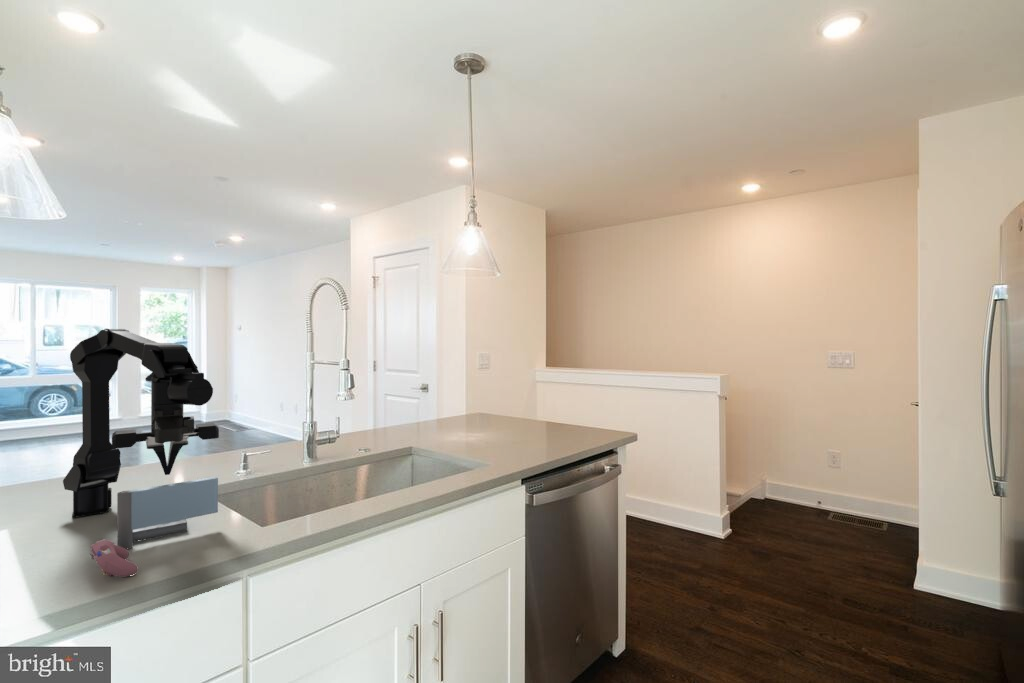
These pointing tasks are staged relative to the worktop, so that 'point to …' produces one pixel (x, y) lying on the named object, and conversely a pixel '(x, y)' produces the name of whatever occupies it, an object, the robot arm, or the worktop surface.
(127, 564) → the video game controller
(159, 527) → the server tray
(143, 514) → the light blue flat slab
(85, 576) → the worktop surface
